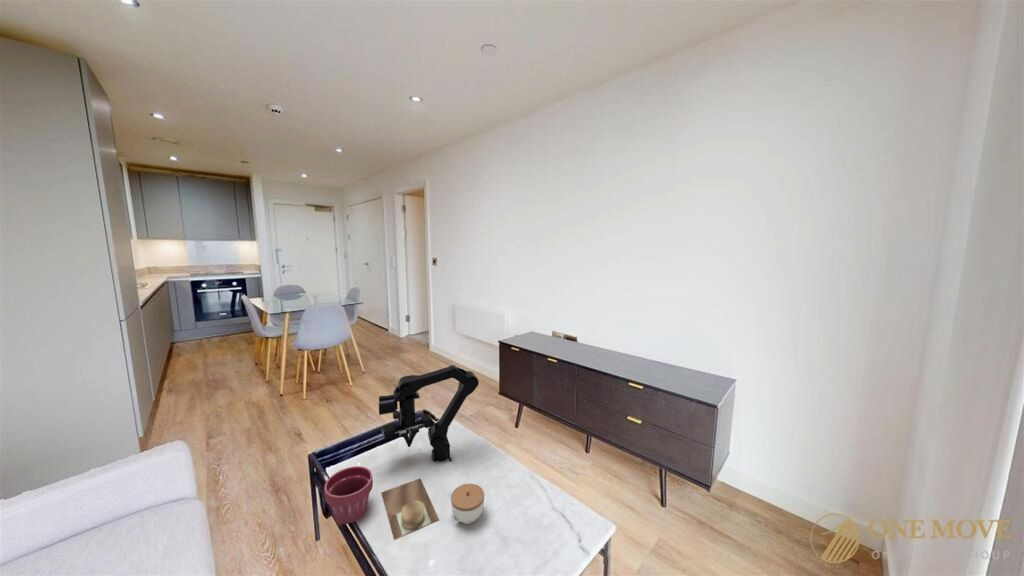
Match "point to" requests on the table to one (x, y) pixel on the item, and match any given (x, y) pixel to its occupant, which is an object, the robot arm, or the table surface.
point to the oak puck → (412, 514)
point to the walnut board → (402, 496)
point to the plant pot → (348, 493)
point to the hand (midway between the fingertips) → (409, 446)
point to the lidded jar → (467, 502)
